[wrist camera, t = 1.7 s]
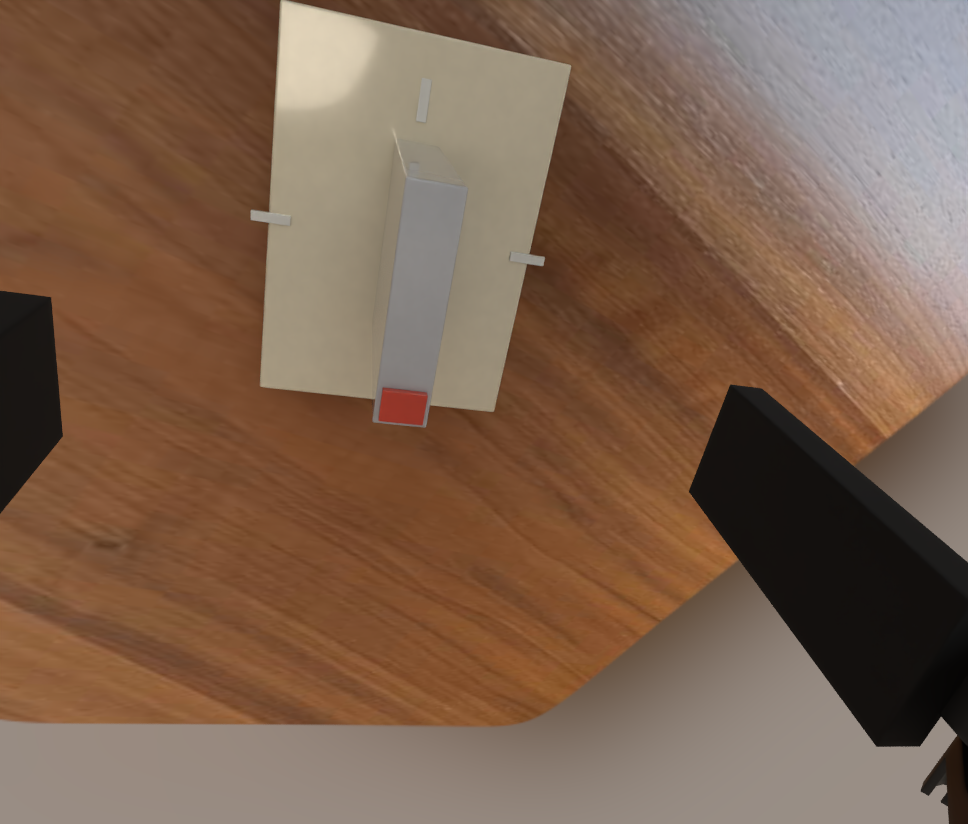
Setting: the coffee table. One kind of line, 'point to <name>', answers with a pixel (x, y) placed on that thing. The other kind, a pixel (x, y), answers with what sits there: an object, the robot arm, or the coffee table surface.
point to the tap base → (365, 187)
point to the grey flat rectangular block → (414, 281)
